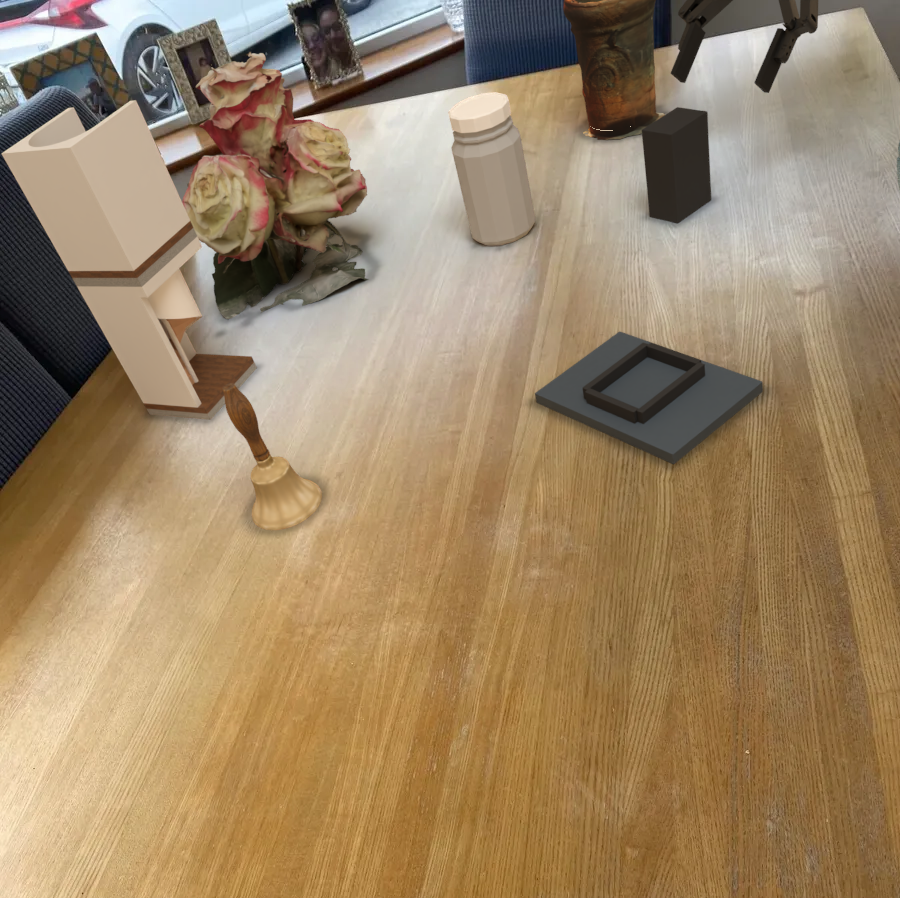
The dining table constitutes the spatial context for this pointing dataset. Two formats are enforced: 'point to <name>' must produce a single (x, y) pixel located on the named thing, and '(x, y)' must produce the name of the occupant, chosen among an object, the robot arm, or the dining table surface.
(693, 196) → the pad block
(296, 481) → the hand bell
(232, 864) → the dining table surface
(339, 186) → the rose bouquet
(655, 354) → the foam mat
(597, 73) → the vessel
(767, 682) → the dining table surface
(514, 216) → the jar
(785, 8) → the robot arm
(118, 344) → the coffee grinder
